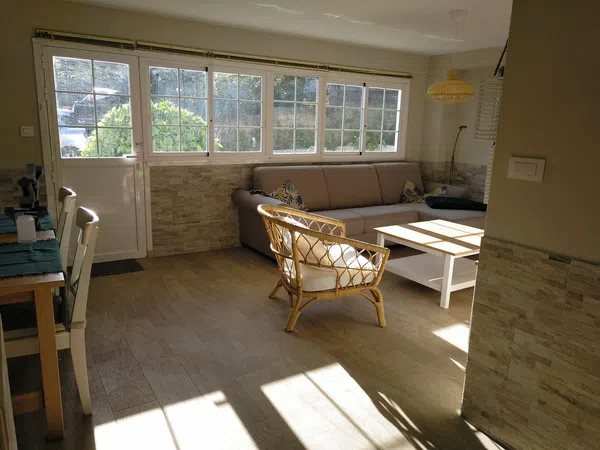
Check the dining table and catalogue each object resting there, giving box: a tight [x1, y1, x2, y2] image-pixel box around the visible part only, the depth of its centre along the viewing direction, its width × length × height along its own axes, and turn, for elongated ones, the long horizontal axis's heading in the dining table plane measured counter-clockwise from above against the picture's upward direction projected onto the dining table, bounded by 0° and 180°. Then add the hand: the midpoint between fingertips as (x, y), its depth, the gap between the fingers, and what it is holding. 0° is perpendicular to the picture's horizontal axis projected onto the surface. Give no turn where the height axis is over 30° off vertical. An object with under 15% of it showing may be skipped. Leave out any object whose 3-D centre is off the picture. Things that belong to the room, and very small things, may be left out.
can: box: [16, 215, 37, 242], centre depth 223 cm, size 8×8×12 cm
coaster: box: [17, 238, 38, 245], centre depth 224 cm, size 8×8×1 cm
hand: (26, 225), depth 223 cm, fingers open, 9 cm apart
